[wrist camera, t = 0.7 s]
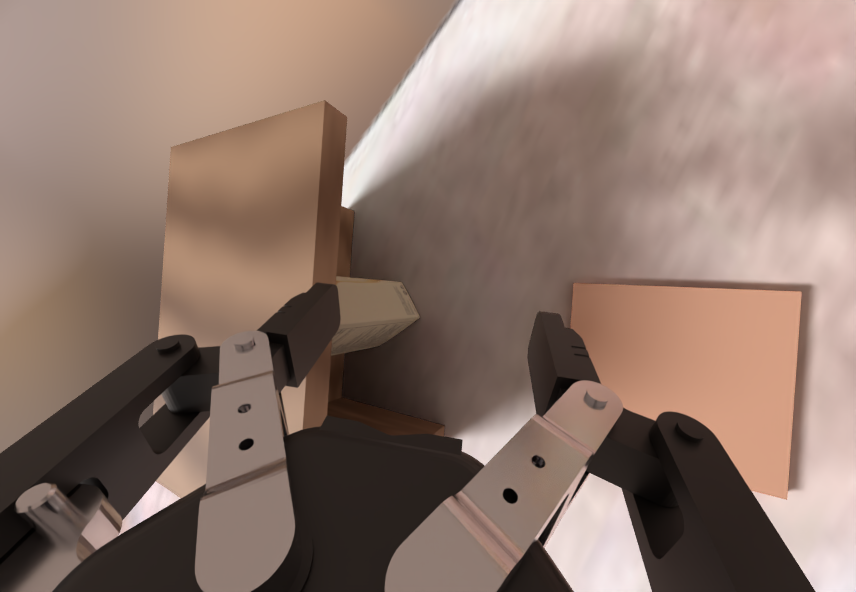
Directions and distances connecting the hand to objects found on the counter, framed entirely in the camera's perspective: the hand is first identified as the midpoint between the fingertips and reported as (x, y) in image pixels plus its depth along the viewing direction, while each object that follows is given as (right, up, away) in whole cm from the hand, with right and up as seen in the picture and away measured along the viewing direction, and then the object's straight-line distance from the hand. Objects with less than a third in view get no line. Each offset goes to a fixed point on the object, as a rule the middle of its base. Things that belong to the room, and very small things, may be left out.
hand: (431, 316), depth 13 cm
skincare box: (-4, -1, +20) cm, 20 cm away
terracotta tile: (+16, -5, +9) cm, 19 cm away
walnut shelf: (-4, -1, +20) cm, 20 cm away
